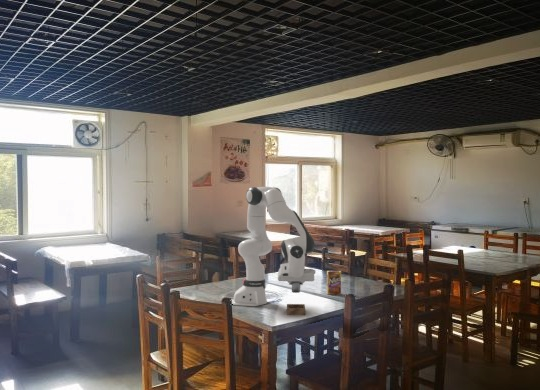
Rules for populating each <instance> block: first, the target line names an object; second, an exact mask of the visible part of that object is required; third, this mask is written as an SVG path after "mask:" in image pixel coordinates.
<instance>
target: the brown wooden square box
mask: <svg viewBox="0 0 540 390" xmlns="http://www.w3.org/2000/svg"><path fill="white" fill-rule="evenodd" d="M305 315H306V305H305V304H304V303H287V304H286V316H305Z"/></svg>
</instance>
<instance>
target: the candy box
mask: <svg viewBox="0 0 540 390" xmlns="http://www.w3.org/2000/svg"><path fill="white" fill-rule="evenodd" d="M326 294H327V295H341V294H342V270H326Z"/></svg>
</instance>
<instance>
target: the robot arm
mask: <svg viewBox="0 0 540 390" xmlns="http://www.w3.org/2000/svg"><path fill="white" fill-rule="evenodd" d="M245 199H246V201H247V203H248V204H247V211H246V212H247V215H246V216H247V217H246V218H247V219H246V228H247V231H249V233H250V235H251V238H249V239H245V240H242V241H241V242H240V243H239V244H238V247H237V250H238V254H239V256H241V257H242V259H243V261H244V263H245V268H246V269H245V272H246V278H244V279H242V286H240V287H239V288H238V289H236V291H234V295H233V298H231V300H232V304H233V305H232V306H244V307H245V306H247V307H257V306H263V305H265V304H267V303H268V300H267V295H266V278H265V277H266V276H265V273H266V272H265V271H266V270H265V269H266V268H265V266H264V264H263V263H262V262H261V260H260V257H263V256H265V255H268V254H269V253H271V252H272V250H273V243H272V241H271V240H270V239H269V237H268V235H267V231H266V208H267V213H268V215H269V218H271V219H272V220H273V221H275V222H278V223H286V224H287V223H288V224H291V225H293V226H294V227H295V229H296V230H297V233H298V234H299V236H296V237H292V238H288V239H284V240H282V242H281V244H280V253H281V256H282V258H283V259H284V260H285V261H286V262H285V263H281V264H279V266H280V267H279V269H278V271H277V281H278V282H287V283H288V285H289V286H292V281H300V286H303V285H304V283H306V282H314V281H315V274H316V270H315V269H313V268H305V266H306V265H305V263H306V256H305V255H306V254H311V253H312V252H313V251H314V249H315V247H316V244H315V243H316V242H315V240H314V238H313V236H312V234H310V232H309V231H308V229H307V227H306V226H305V225H304V222H303V221H302V219H301V218H300V216H299V215H298V213H297V212H296V211H295V210H293V209H292V208H290V207H289V206H288V204H287V202H286V200H285V197H284V195H283V193H282V191H281V189H279V188H278V187H275V186H272V187H271V186H258V187H256V186H253V187H249V188H248V189H247V190H246V194H245Z"/></svg>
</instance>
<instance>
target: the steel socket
mask: <svg viewBox="0 0 540 390" xmlns="http://www.w3.org/2000/svg"><path fill="white" fill-rule="evenodd" d="M291 293H295V294H297V293H298V294H299V293H301V285H300V281H292V285H291Z"/></svg>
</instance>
